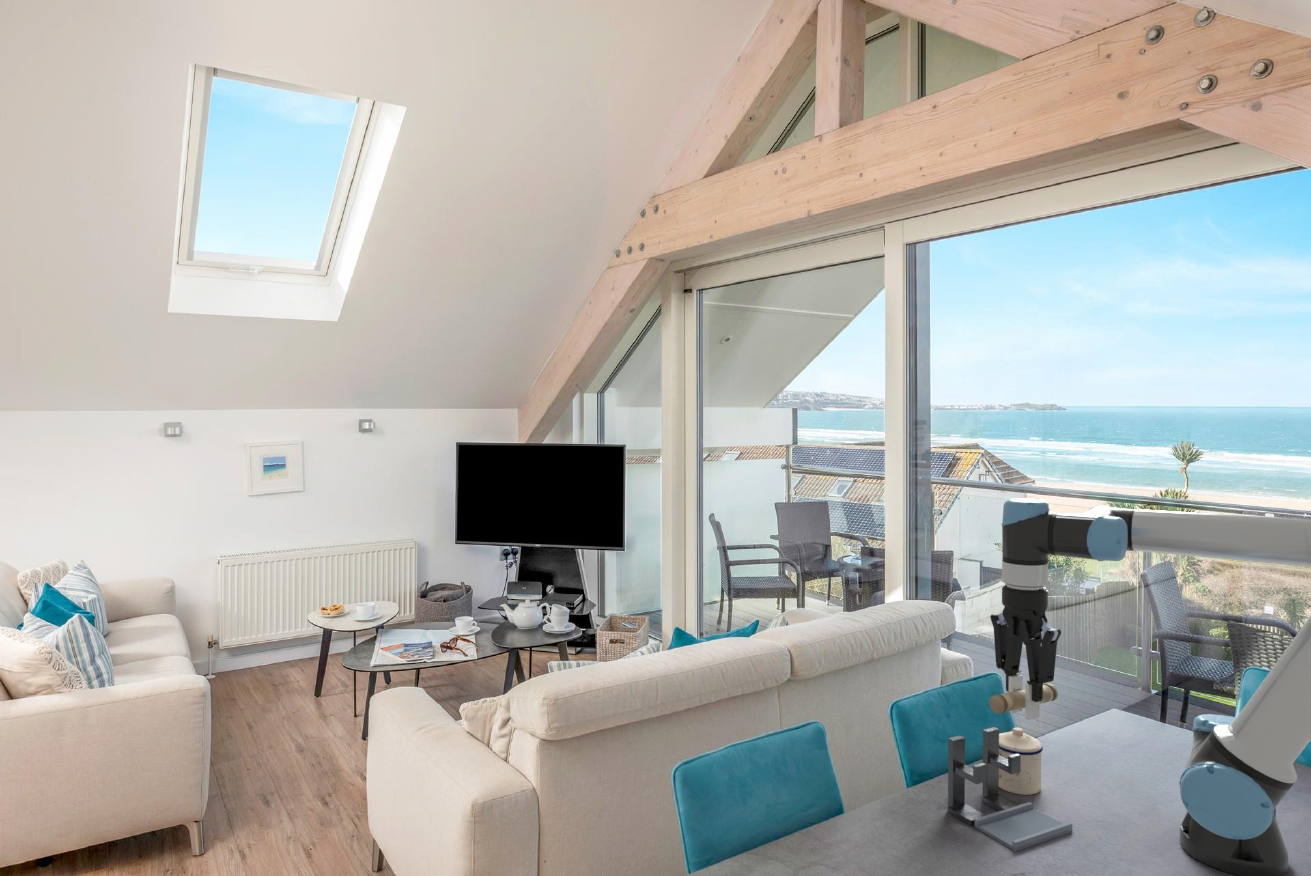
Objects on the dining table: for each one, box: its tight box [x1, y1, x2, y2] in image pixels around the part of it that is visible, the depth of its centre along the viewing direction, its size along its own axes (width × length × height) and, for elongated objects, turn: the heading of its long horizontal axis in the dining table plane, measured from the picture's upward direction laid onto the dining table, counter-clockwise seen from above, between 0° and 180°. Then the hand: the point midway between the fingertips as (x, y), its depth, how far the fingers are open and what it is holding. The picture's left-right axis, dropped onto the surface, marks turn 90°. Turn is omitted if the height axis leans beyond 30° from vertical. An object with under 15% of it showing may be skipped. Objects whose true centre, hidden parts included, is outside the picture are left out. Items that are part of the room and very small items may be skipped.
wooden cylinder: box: [988, 683, 1059, 714], centre depth 146 cm, size 14×3×3 cm, turn 115°
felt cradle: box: [974, 801, 1073, 852], centre depth 147 cm, size 9×14×2 cm, turn 116°
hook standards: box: [947, 726, 1021, 827], centre depth 154 cm, size 6×13×14 cm, turn 116°
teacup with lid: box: [999, 727, 1044, 796], centre depth 164 cm, size 12×9×12 cm
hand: (1023, 714), depth 146 cm, fingers closed on wooden cylinder, 3 cm apart
